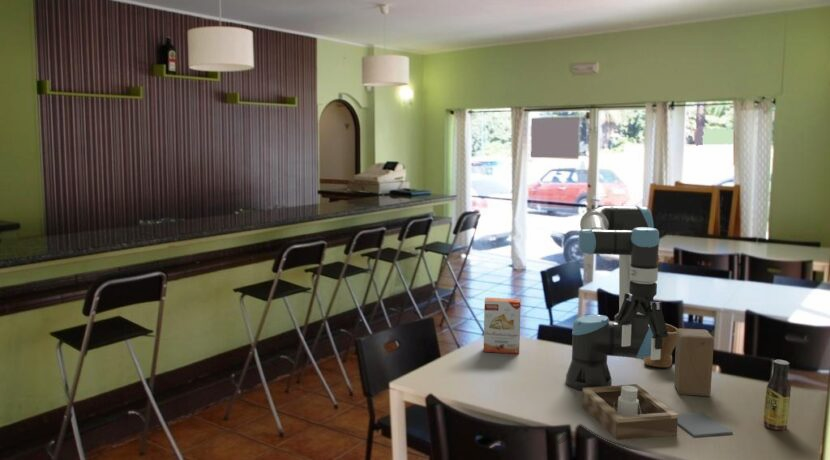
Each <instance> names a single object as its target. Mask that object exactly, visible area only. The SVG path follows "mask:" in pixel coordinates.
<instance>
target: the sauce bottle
mask: <svg viewBox="0 0 830 460" xmlns="http://www.w3.org/2000/svg"><path fill="white" fill-rule="evenodd" d="M772 365H773V369H772V375H771V377H770V379H769V380H768V383H767V385H766V389H765V398H764V400H765V401H764V408H763V416H762V417H763V418H762V419H763V425H764V426H765V427H767V428H769V429H771V430H774V431H778V430H779V431H785V430H786V429H787V427H788V426H787V425H788V421H789V412H790V410H789V409H790V404H791V403H790V402H791V392H792V391H791V389H792V386H791V383H790V380H789V379H788V378H789V377H788V376H789V375H788V373H789V368H790V362H789V361H787V360H783V359H775V360H773V364H772Z"/></svg>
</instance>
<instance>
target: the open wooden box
mask: <svg viewBox="0 0 830 460" xmlns="http://www.w3.org/2000/svg"><path fill="white" fill-rule="evenodd" d="M625 385H626V384H618V385H611V386H602V387H588V388H583V390H582V400H581V401H582V402H581V403H582V405H581V407H582V408H583V409H585V410H586V411H587V412H588V413H589V414H590V416H592V417H593V418H594V419H595V420H596V421H597V422H598V423H599V425H601V426H602V427H603V428H604V429H605V430H607V432H609V433H610V434H611V435H612V437H614V438H615V439H616V440H617V441H618V440H619V441H620V440H630V439H632V440H633V439H644V438H654V437H656V438H657V437H666V436H668V437H669V436H677V435H678V424H677V423H678V414H679V413H676V412H675V411H673V410H672V409H671V408H669V406H667V405H665V404H664V403H663V402H662V401H660V400H659V399H657V398H656V397H655V396H653V395H652V394H651V393H649V392H648V391H647V390H645V389H644V388H642V387H641V386H639V385H638V384H637V383H635V384H627V385H628V386H633V387H636V388H637V389H638V392H637V399H638V400H639V405H638V408H639V406H640V408H639V410H641V411H643V412H644V413H640V414H638V415H626V416H621V415H620V414H619V413H618V412H617V410H616V409H615V410H614V407H612V406H618V397H619V396H621V387H622V386H625ZM614 402H615V403H614Z"/></svg>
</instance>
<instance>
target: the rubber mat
mask: <svg viewBox="0 0 830 460" xmlns="http://www.w3.org/2000/svg"><path fill="white" fill-rule="evenodd" d="M677 414H678V423H677V426H679V427H680V428H681V429H682V430H684V431H685V432H687V433H688V434H689V435H691V436H692V437H693V438H696V437H707V436H708V437H710V436H721V435H732V434H733V433H734V432H733V431H732V430H731V429H729V428H728V427H727V426H725V425H724V424H722V423H720V422H719V421H718V420H717V419H715V418H713V417H712V416H710V415H709V414H707V413H706V412H704V411H700V412H689V413H685V412H684V413H677Z"/></svg>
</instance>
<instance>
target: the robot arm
mask: <svg viewBox="0 0 830 460" xmlns="http://www.w3.org/2000/svg"><path fill="white" fill-rule="evenodd" d="M579 222H580V223H579V224H580V230H579V231H578V252H579V253H581V254H588V255H617V256H618V259H619V261H618V263H619V264H618V267H619V268H618V270H619V271H618V274H619V275H618V279H619V283H618V284H619V286H618V287H619V290H618V298H619V299H618V302H619V304H618V306H619V309H618V313H616V314H615V315H614V320H610V318H609V317H608V316H607V315H604V314H588V315H582V316H579V317H577V318H576V319H575V320H574V321H573V323H572V332H571V335H572V341H571V342H572V343H571V344H572V346H571V362H570V364H569V366H568V369H567V372H566V374H565V383H566V385H567V386H569V387H571V388H573V389H576V390H579V391H583V388H588V387H602V386H613V384H612V383H613V382H612V381H613V379H612V376H611V372H610V369H609V366H608V356H609V357H620V358H621V357H623V358H635V359H638V358H640V359H641V358H642V359H644V358H648V357H650V356H651V360H659V359H660V355H661V348H662V338H663V337H668V332H667V328H666V324H667V323H666V321H665V317H664V313H663V310H662V309H663V307H662V306H663V305H662V302H661V301H657V302H656V301H655V300H654V297H655V296H657V293H658V292H657V290H658V283H657V281H658V273H659V272H658V271H659V264H658V263H659V248H660V247H659V245H660V232H659V230H658V229H657V228H655V225H654V218H653V215H652V211H651V209H650V208H648V207H646V206H638V205H634V206H631V205H630V206H629V205H602V206H598V207H594V208H591V209H590V210H588V211H587V212H585V213H584V214H582V217H581V218H580V221H579ZM657 333H658V334H657Z"/></svg>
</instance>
